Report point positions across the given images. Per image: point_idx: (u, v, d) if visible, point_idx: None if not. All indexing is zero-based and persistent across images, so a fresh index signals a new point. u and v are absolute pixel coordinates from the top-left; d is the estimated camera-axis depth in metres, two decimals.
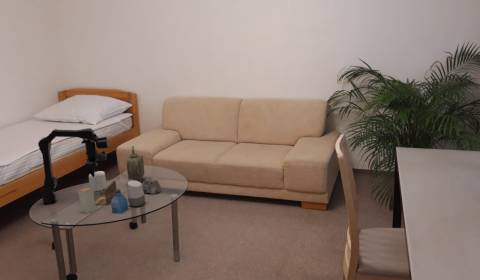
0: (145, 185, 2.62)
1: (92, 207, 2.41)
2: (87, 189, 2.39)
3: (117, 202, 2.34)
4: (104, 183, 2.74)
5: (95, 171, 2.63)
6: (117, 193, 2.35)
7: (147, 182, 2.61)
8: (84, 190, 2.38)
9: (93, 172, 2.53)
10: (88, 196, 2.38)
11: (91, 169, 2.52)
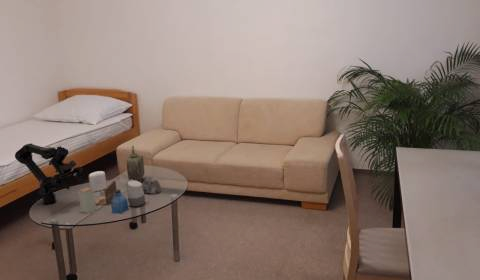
0: (145, 185, 2.62)
1: (92, 207, 2.41)
2: (87, 189, 2.39)
3: (117, 202, 2.34)
4: (104, 183, 2.74)
5: (81, 183, 2.47)
6: (117, 193, 2.35)
7: (147, 182, 2.61)
8: (84, 190, 2.38)
9: (64, 185, 2.38)
10: (88, 196, 2.38)
11: (61, 183, 2.39)
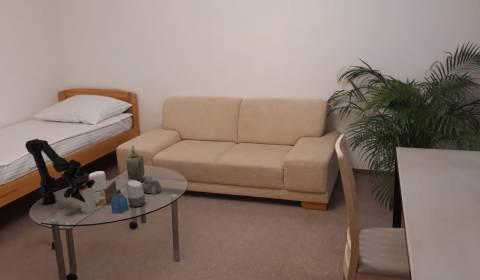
0: (145, 185, 2.62)
1: (92, 207, 2.41)
2: (87, 189, 2.39)
3: (117, 202, 2.34)
4: (104, 183, 2.74)
5: None
6: (117, 193, 2.35)
7: (147, 182, 2.62)
8: (84, 190, 2.38)
9: (80, 197, 2.37)
10: (88, 196, 2.38)
11: (77, 196, 2.37)
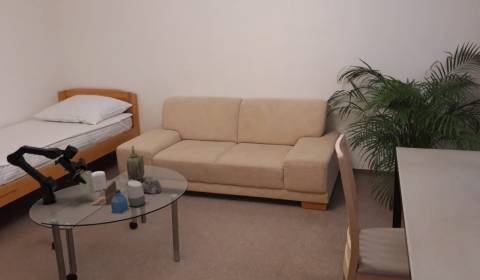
0: (145, 185, 2.62)
1: (92, 188, 2.55)
2: (86, 172, 2.52)
3: (117, 202, 2.34)
4: (104, 183, 2.74)
5: None
6: (117, 193, 2.35)
7: (147, 182, 2.62)
8: (84, 173, 2.51)
9: (82, 180, 2.49)
10: (89, 178, 2.51)
11: (78, 179, 2.49)
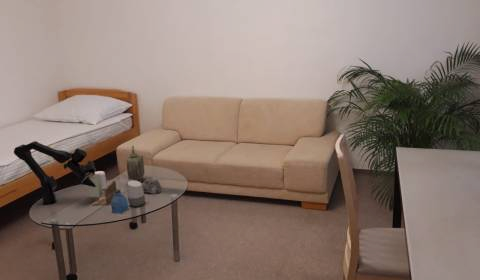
0: (146, 185, 2.62)
1: (101, 191, 2.55)
2: (95, 175, 2.53)
3: (117, 202, 2.34)
4: (104, 183, 2.74)
5: None
6: (117, 193, 2.35)
7: (148, 182, 2.62)
8: (93, 176, 2.51)
9: (91, 183, 2.49)
10: (98, 181, 2.52)
11: (87, 182, 2.49)
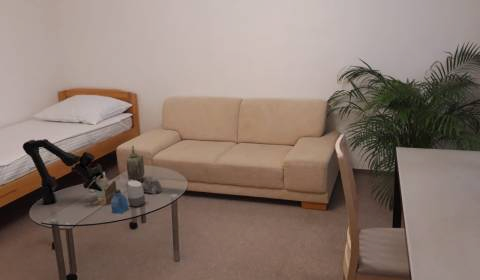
0: (146, 185, 2.63)
1: None
2: (103, 179, 2.53)
3: (117, 202, 2.34)
4: None
5: None
6: (117, 193, 2.35)
7: (148, 182, 2.62)
8: (101, 180, 2.51)
9: (97, 187, 2.48)
10: (105, 185, 2.52)
11: (94, 186, 2.48)
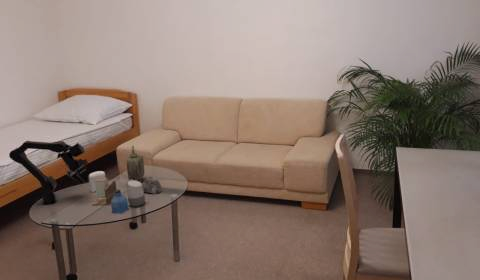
0: (146, 185, 2.63)
1: None
2: (103, 179, 2.53)
3: (117, 202, 2.34)
4: None
5: (80, 182, 2.60)
6: (117, 193, 2.35)
7: (148, 182, 2.62)
8: (101, 180, 2.51)
9: (85, 177, 2.53)
10: (105, 185, 2.52)
11: (82, 175, 2.52)
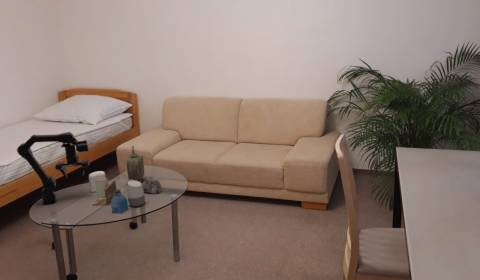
0: (146, 184, 2.63)
1: None
2: (103, 179, 2.53)
3: (117, 202, 2.34)
4: None
5: None
6: (117, 193, 2.35)
7: (148, 182, 2.62)
8: (101, 180, 2.51)
9: (83, 172, 2.60)
10: (105, 185, 2.52)
11: None
